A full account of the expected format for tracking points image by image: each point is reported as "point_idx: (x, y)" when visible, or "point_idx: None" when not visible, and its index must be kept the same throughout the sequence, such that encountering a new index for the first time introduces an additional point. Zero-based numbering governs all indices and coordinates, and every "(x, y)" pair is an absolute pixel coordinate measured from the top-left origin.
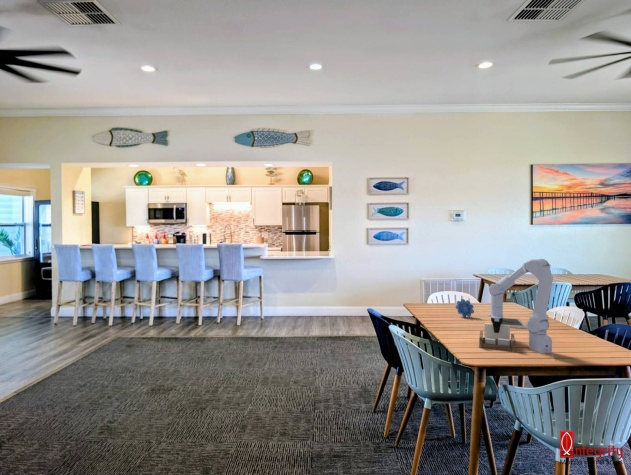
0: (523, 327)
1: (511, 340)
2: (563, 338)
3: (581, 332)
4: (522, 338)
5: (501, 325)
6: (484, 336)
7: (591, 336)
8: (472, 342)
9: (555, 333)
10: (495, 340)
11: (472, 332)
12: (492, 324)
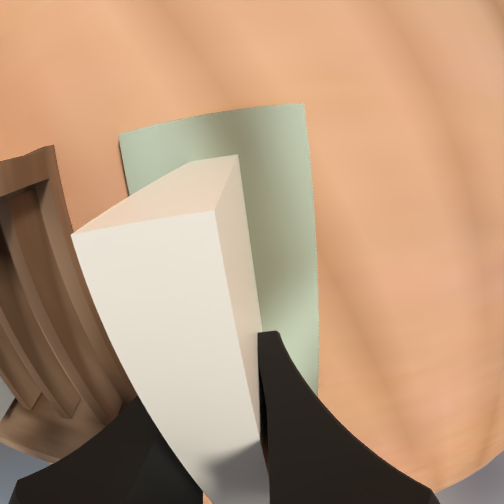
0: None
1: (70, 430)
2: (419, 478)
3: (485, 463)
4: (393, 418)
5: (211, 498)
6: (183, 166)
7: (446, 487)
8: (14, 94)
9: (483, 444)
10: (9, 327)
11: (455, 20)
12: (162, 430)
